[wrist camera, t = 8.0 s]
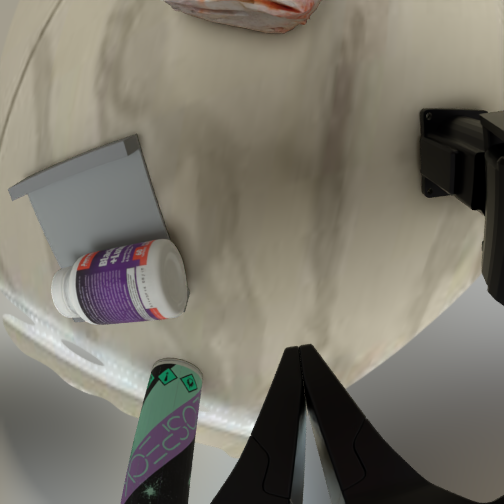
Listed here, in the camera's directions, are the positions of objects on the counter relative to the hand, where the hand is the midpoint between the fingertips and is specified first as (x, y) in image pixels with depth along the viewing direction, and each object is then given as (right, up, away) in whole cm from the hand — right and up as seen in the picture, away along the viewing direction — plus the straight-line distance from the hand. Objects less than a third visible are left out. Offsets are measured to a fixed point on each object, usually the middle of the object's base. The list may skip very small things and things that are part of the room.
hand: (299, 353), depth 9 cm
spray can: (-9, -10, +21) cm, 25 cm away
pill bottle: (-6, +2, +11) cm, 13 cm away
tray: (-13, +4, +13) cm, 19 cm away
